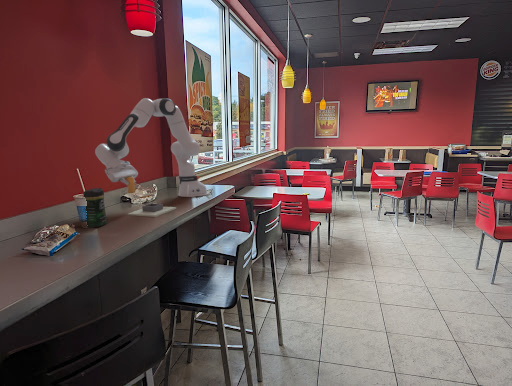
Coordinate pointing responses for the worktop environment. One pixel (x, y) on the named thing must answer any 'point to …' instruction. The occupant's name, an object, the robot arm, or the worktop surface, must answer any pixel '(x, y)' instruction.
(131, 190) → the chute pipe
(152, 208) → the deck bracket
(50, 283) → the worktop surface
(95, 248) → the worktop surface
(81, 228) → the worktop surface
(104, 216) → the coffee jar
